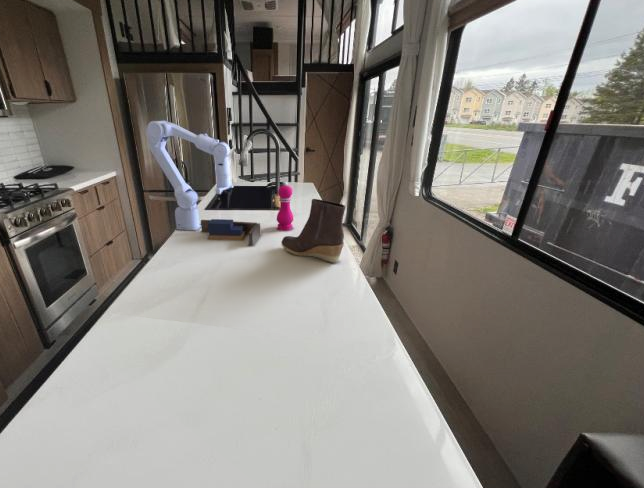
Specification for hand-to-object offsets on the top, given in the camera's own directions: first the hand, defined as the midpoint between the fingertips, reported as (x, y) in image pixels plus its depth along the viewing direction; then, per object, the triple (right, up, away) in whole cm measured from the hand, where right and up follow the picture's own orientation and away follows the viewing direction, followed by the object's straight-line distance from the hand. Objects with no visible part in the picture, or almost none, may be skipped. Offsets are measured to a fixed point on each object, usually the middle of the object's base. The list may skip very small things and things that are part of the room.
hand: (225, 207), depth 137 cm
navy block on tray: (+1, -14, -7) cm, 15 cm away
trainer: (+1, -13, -6) cm, 14 cm away
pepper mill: (+25, -9, +3) cm, 27 cm away
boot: (+34, -21, -22) cm, 46 cm away
